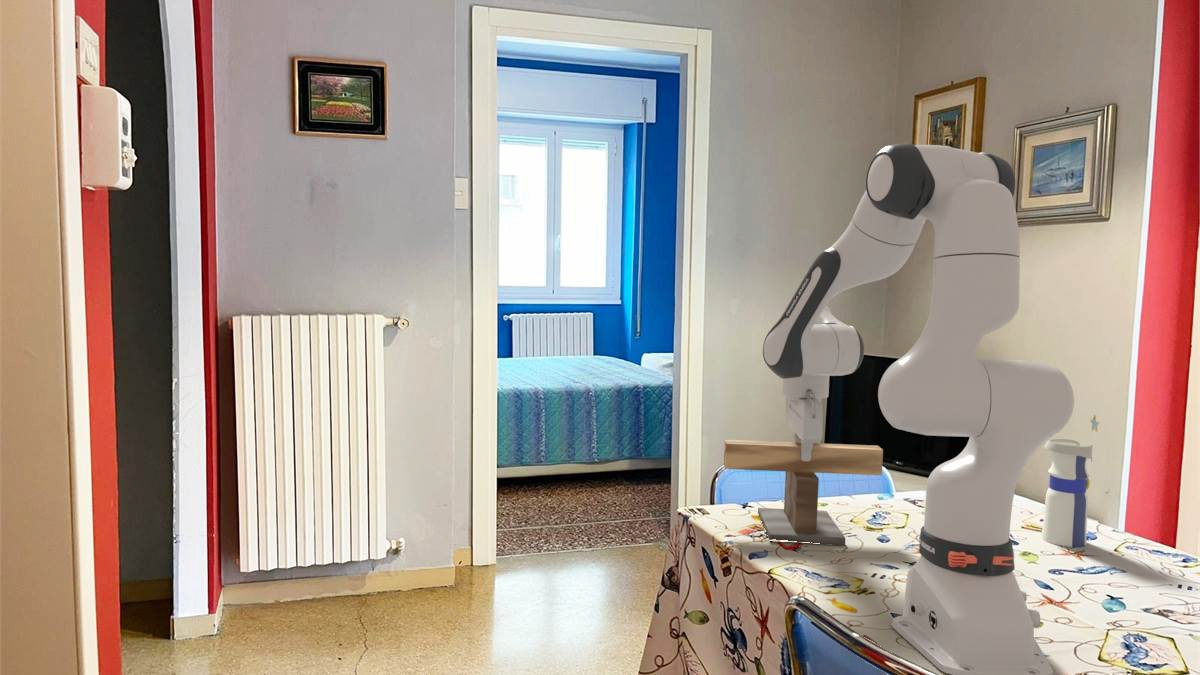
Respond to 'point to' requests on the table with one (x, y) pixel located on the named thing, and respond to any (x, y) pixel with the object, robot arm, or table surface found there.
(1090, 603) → the table surface
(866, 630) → the table surface
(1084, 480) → the water bottle
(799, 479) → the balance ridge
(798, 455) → the oak rod
